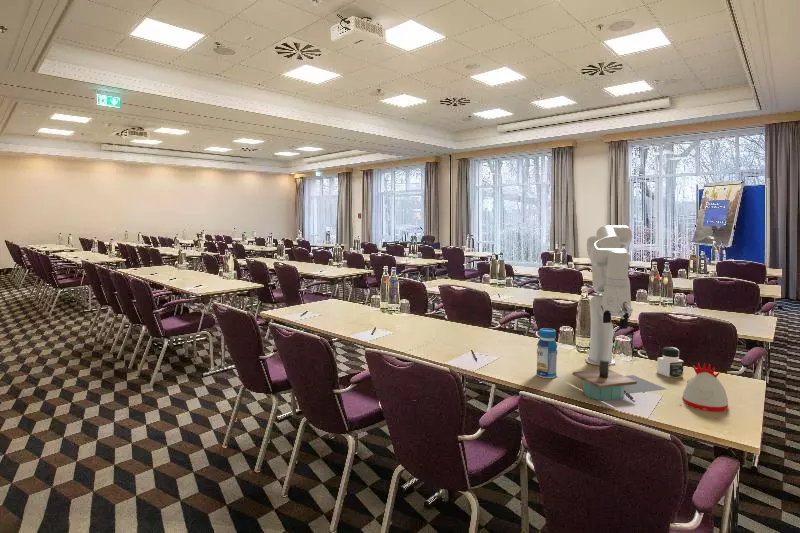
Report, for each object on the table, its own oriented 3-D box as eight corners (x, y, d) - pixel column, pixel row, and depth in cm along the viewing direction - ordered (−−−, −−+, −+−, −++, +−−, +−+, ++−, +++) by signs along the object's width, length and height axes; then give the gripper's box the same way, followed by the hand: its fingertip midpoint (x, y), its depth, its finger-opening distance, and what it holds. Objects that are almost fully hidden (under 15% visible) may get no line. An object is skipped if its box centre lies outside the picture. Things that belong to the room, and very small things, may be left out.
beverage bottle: (557, 379, 204) (559, 332, 202) (536, 378, 205) (538, 331, 203) (555, 373, 212) (556, 328, 210) (535, 372, 213) (536, 327, 212)
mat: (597, 380, 203) (597, 378, 202) (633, 376, 207) (633, 375, 207) (628, 395, 185) (628, 393, 185) (667, 390, 190) (667, 389, 190)
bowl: (575, 390, 191) (576, 375, 190) (606, 386, 194) (606, 372, 194) (599, 403, 177) (600, 387, 177) (631, 399, 181) (632, 383, 180)
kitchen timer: (686, 394, 186) (688, 356, 185) (729, 403, 177) (732, 362, 176) (679, 405, 175) (681, 364, 174) (725, 414, 167) (727, 372, 165)
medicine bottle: (669, 378, 204) (670, 350, 203) (656, 373, 211) (657, 346, 210) (683, 377, 206) (684, 349, 205) (669, 372, 213) (671, 345, 212)
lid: (572, 374, 191) (573, 357, 190) (607, 371, 195) (607, 354, 194) (599, 388, 175) (600, 369, 175) (636, 384, 180) (637, 365, 179)
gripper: (594, 279, 197) (592, 321, 199) (624, 286, 181) (621, 331, 183) (610, 278, 199) (608, 319, 201) (641, 285, 182) (638, 330, 185)
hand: (614, 325), depth 192 cm, fingers open, 9 cm apart
